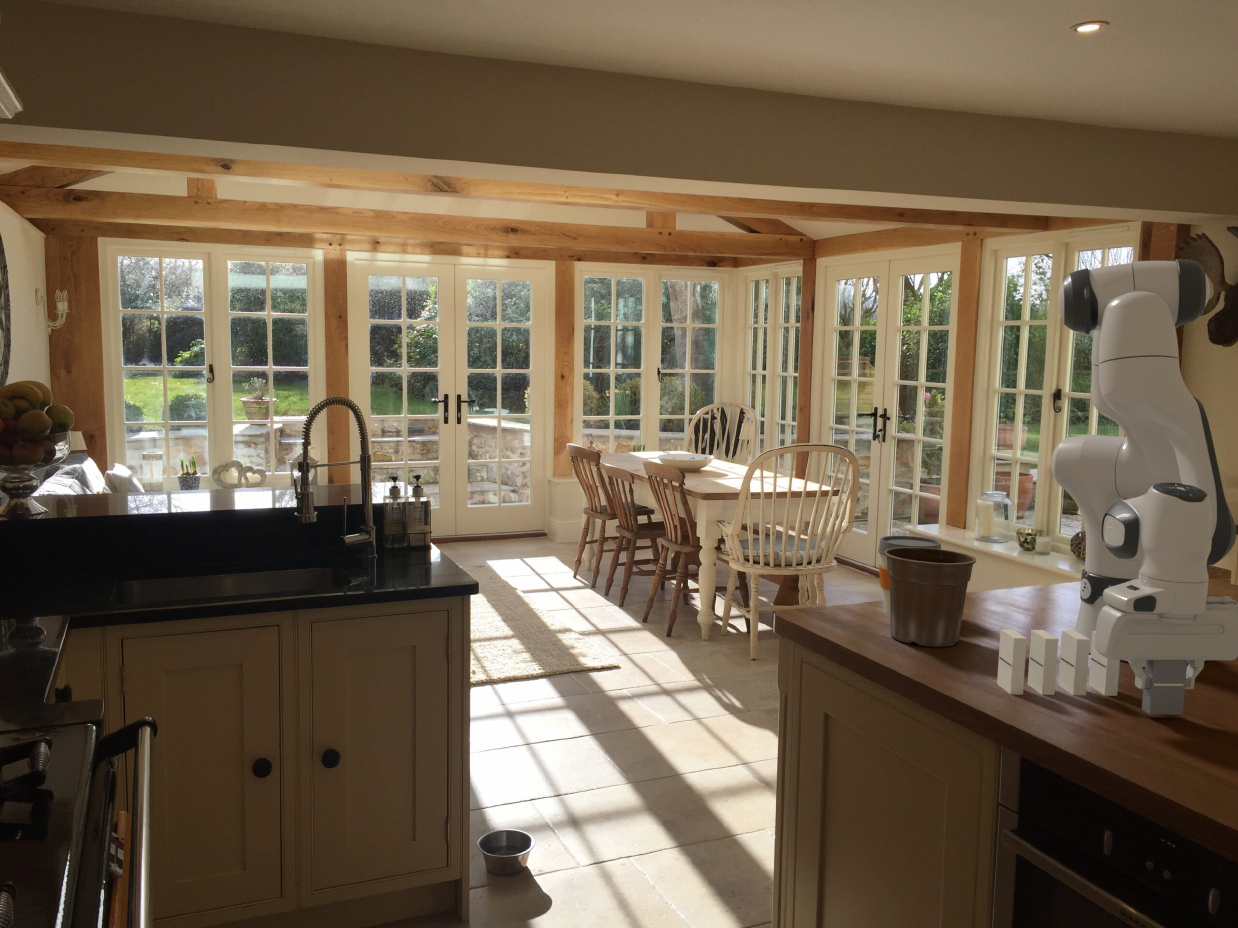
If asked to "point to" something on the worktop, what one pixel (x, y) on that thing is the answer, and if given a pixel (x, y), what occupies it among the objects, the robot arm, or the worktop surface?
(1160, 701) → the grey domino
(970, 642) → the worktop surface
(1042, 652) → the ivory domino
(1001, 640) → the ivory domino
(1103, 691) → the ivory domino
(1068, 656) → the ivory domino
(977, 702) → the worktop surface
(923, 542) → the reusable coffee cup
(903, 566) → the plant pot
